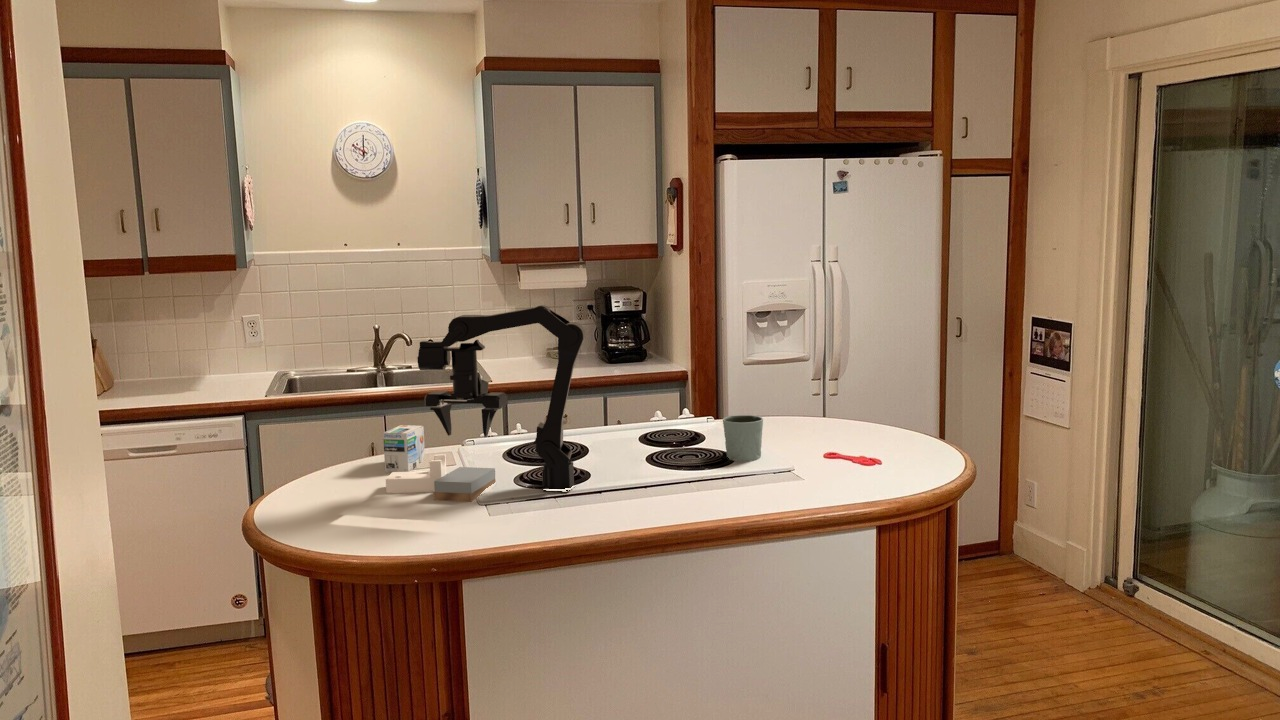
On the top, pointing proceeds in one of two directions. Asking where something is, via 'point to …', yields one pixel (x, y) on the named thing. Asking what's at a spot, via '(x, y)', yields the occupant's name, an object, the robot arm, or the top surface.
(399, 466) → the light bulb box
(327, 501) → the top surface
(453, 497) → the walnut slab
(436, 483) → the slate slab
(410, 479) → the bracket
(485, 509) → the top surface
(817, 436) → the top surface
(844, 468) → the top surface
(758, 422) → the green cup
